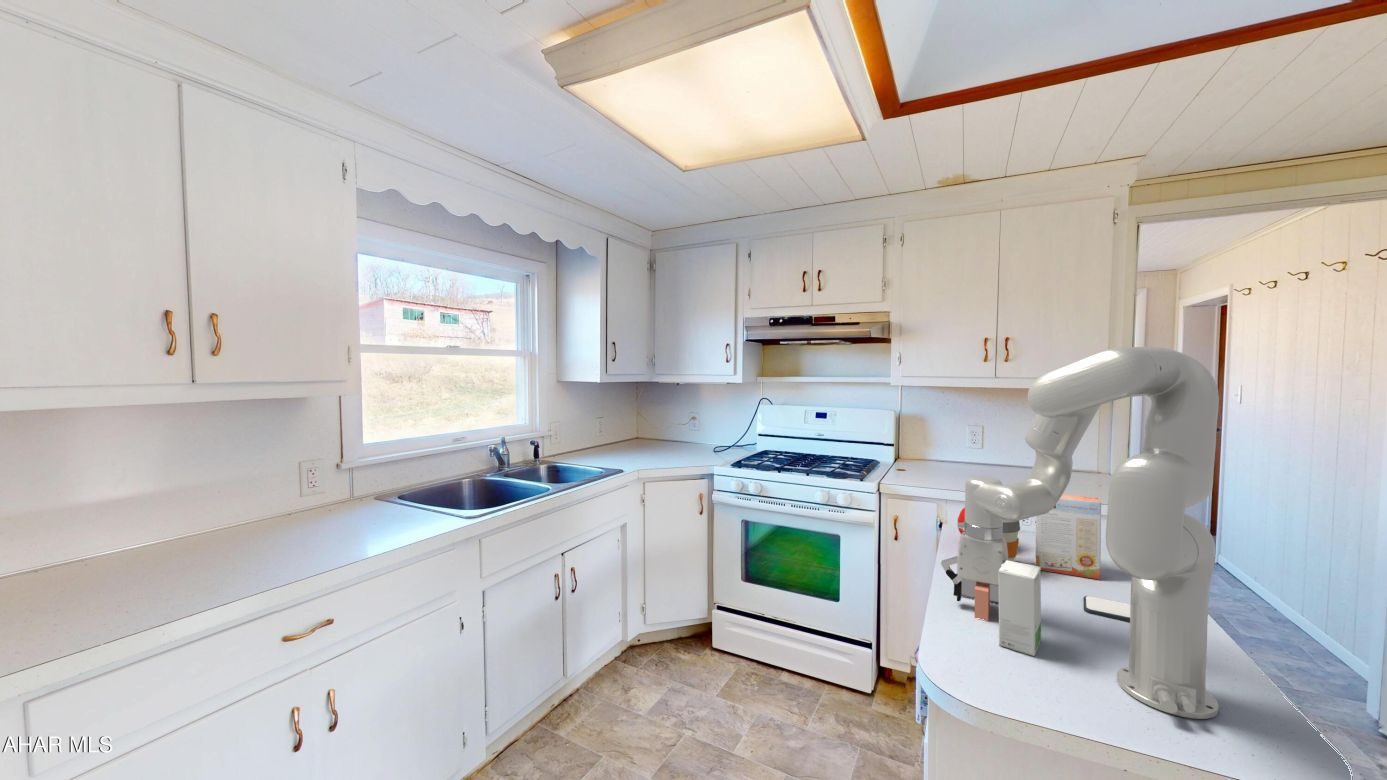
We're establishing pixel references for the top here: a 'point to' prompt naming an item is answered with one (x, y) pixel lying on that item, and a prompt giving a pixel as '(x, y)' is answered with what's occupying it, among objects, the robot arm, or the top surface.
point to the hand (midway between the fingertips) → (981, 603)
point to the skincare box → (1020, 607)
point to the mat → (969, 591)
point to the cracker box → (1070, 537)
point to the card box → (982, 600)
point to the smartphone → (1107, 608)
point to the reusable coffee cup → (1011, 537)
